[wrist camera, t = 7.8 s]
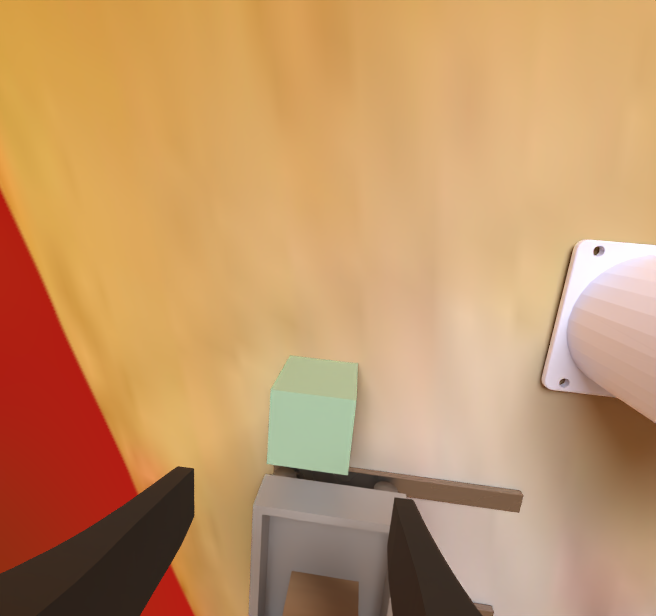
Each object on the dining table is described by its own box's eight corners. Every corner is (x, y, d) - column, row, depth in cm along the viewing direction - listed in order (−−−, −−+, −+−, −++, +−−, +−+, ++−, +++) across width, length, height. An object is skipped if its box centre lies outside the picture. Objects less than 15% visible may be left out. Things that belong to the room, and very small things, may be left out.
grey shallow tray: (403, 476, 21) (411, 528, 17) (381, 617, 23) (384, 688, 20) (271, 458, 21) (253, 504, 18) (264, 597, 24) (246, 662, 20)
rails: (520, 490, 21) (523, 495, 21) (488, 619, 23) (490, 626, 23) (275, 456, 22) (274, 460, 22) (268, 583, 25) (267, 588, 24)
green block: (357, 363, 20) (356, 400, 16) (351, 424, 21) (347, 475, 17) (290, 355, 21) (270, 389, 16) (286, 415, 22) (266, 463, 17)
